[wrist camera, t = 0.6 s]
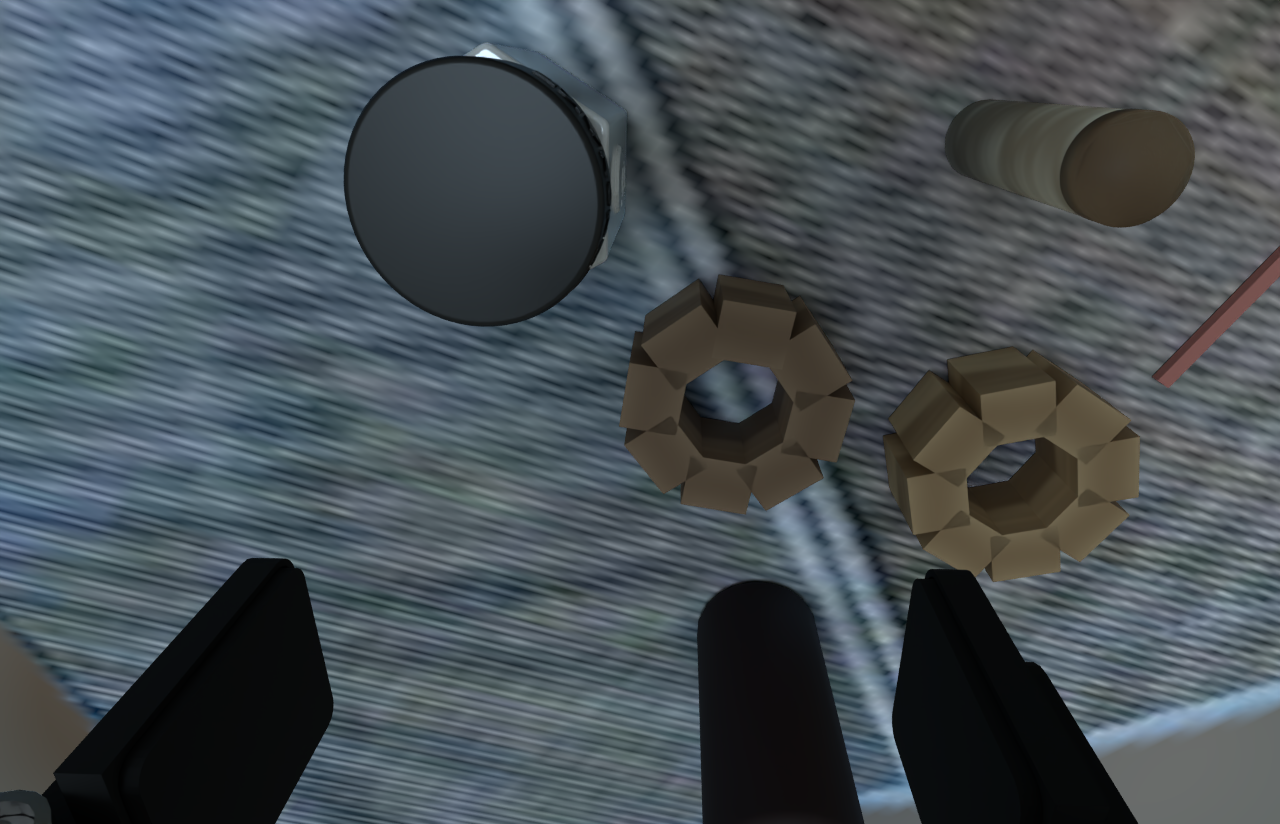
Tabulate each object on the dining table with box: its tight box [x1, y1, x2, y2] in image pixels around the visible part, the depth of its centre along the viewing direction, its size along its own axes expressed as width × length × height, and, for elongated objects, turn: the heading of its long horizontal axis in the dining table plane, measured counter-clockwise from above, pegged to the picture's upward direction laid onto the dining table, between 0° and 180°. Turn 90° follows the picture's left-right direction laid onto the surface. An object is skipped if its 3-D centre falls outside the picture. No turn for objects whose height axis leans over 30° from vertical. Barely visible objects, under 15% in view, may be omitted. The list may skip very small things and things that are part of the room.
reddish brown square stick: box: [1152, 247, 1280, 388], centre depth 34 cm, size 12×1×1 cm, turn 148°
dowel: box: [945, 100, 1195, 228], centre depth 27 cm, size 3×3×12 cm
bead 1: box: [619, 274, 855, 514], centre depth 36 cm, size 10×10×4 cm
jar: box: [344, 42, 627, 326], centre depth 29 cm, size 9×8×12 cm
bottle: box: [697, 582, 864, 824], centre depth 35 cm, size 7×7×20 cm
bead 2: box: [883, 347, 1140, 582], centre depth 36 cm, size 10×10×4 cm
